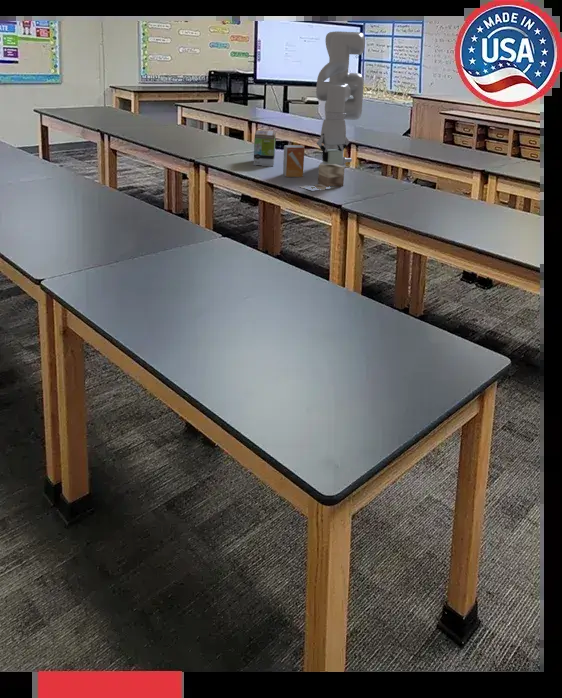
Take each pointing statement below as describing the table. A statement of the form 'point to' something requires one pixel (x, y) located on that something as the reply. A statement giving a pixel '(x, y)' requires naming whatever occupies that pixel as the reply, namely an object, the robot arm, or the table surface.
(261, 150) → the tea box
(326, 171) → the wood-grain cube
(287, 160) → the small box
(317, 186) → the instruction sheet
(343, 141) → the robot arm
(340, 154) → the sage brick
